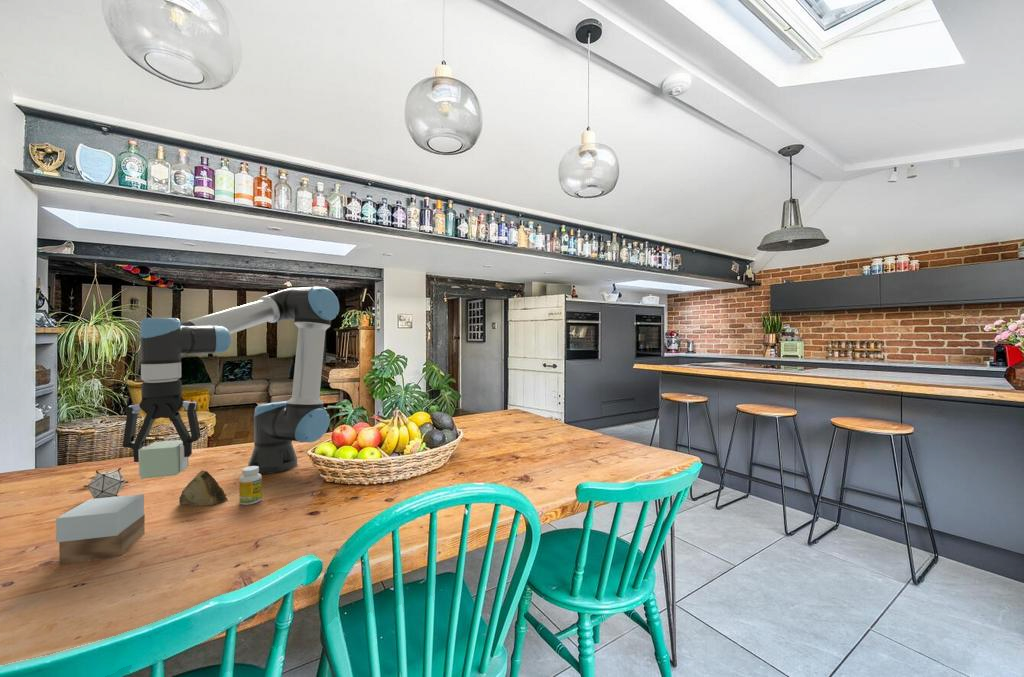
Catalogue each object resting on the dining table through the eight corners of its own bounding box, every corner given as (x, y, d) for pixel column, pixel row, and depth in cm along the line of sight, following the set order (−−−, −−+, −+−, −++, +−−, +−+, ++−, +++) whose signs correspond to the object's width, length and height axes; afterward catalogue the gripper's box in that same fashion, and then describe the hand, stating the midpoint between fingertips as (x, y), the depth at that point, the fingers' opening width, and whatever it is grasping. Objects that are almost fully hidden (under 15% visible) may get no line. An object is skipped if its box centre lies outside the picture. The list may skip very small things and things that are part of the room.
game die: (97, 512, 115) (75, 484, 115) (133, 491, 122) (112, 465, 122) (100, 504, 110) (77, 475, 109) (137, 483, 117) (116, 456, 116)
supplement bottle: (246, 497, 117) (247, 464, 117) (265, 497, 117) (265, 464, 117) (234, 505, 112) (234, 471, 111) (254, 505, 112) (254, 471, 112)
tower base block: (144, 534, 96) (144, 514, 95) (121, 556, 86) (121, 533, 86) (89, 542, 92) (89, 520, 92) (59, 566, 83) (59, 542, 82)
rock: (164, 499, 110) (183, 501, 105) (184, 468, 115) (204, 469, 110) (202, 511, 117) (221, 513, 113) (219, 481, 122) (239, 483, 118)
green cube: (188, 465, 105) (187, 439, 105) (176, 475, 98) (175, 447, 98) (155, 468, 103) (154, 441, 102) (140, 478, 96) (139, 449, 96)
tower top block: (143, 515, 95) (143, 494, 95) (117, 535, 85) (117, 512, 85) (90, 520, 92) (90, 498, 92) (56, 542, 82) (56, 518, 82)
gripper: (215, 376, 107) (217, 461, 107) (116, 380, 98) (118, 472, 99) (207, 380, 100) (208, 471, 100) (99, 384, 92) (102, 483, 92)
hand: (163, 471), depth 100 cm, fingers closed on green cube, 7 cm apart
